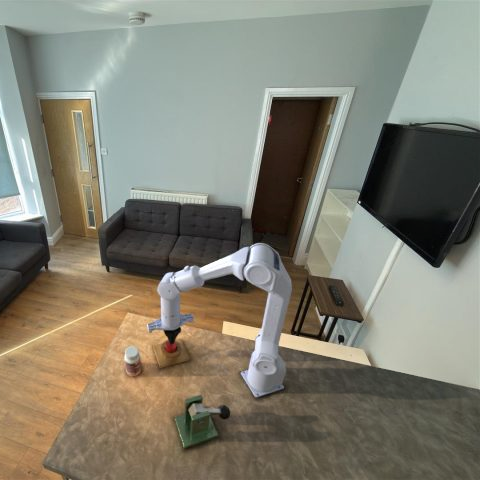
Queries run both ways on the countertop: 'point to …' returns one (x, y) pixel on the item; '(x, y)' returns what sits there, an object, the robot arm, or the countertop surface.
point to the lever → (210, 410)
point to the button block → (170, 354)
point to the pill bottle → (132, 361)
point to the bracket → (195, 425)
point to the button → (170, 347)
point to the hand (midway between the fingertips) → (171, 342)
